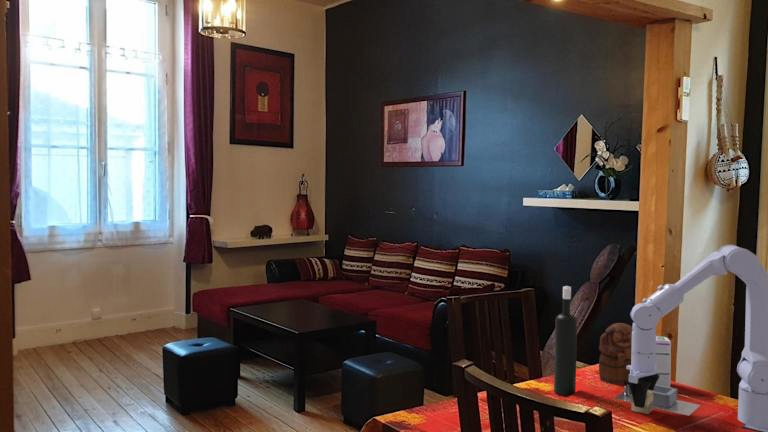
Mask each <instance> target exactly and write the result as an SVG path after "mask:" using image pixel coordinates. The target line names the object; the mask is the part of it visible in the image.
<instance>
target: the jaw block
mask: <svg viewBox="0 0 768 432" xmlns="http://www.w3.org/2000/svg"><path fill="white" fill-rule="evenodd" d="M630 409H631V411H632V412H636V413H640V414H646V415H649V414H651V412H653V411H654V408H653V391H652V390H648V391H647V394H646V400H645V405H644V407H643V408H640V407H636V406H635V405H634V401H633V397H632V403H631V407H630Z"/></svg>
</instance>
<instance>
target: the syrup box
mask: <svg viewBox="0 0 768 432" xmlns="http://www.w3.org/2000/svg"><path fill="white" fill-rule="evenodd" d="M671 362H672V342H671V340H670V339H669V338H668V337H667V336H661V335H656V363H657V370H656V374H658V375H659V379H658V381H657V382H656V384H657V385H662V386H666V387H671V383H672V382H671V380H672V379H671V378H672V376H671V375H672V371H671V370H672V365H671V364H672V363H671Z"/></svg>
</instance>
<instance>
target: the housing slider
mask: <svg viewBox="0 0 768 432" xmlns="http://www.w3.org/2000/svg"><path fill="white" fill-rule="evenodd" d="M678 389H679V388H677V387H671V386H670V387H666V386H662V385H657V384H656V385H655V387H654V390H653V404H656V405H661V406H665V407H669V406H671V405H672V404H673V403H674V402H675V401H677V400H678V393H679V392H678Z"/></svg>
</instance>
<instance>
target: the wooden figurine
mask: <svg viewBox="0 0 768 432" xmlns="http://www.w3.org/2000/svg"><path fill="white" fill-rule="evenodd" d="M632 331H633V330H632V326H631V325H629V324H627V323H624V322H616V323H612V324H610V325H609V326H608V327H607V328H606V329H605V332H603V333H602V334H601V336H599V347H598V350H599V352H600V354H599V360H598V361H599V363H598V375H599V380H600V382H604V383H606V384H609V385H616V386H617V385H618V386H624V385H628V384H627V382H626V378H627V377H629V374H630V370H628V369H626V366H628V365H631V347H632Z"/></svg>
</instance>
